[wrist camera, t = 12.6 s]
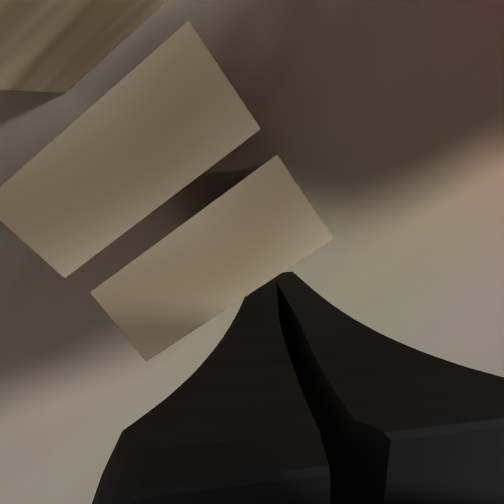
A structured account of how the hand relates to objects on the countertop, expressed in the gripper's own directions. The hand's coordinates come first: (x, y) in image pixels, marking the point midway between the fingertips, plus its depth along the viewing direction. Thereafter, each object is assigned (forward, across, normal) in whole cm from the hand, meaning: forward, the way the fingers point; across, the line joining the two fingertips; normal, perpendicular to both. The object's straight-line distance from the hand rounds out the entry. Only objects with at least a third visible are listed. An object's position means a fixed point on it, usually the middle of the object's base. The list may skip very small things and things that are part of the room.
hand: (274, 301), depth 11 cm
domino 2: (+5, +3, -5) cm, 8 cm away
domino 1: (+5, +1, -1) cm, 5 cm away
